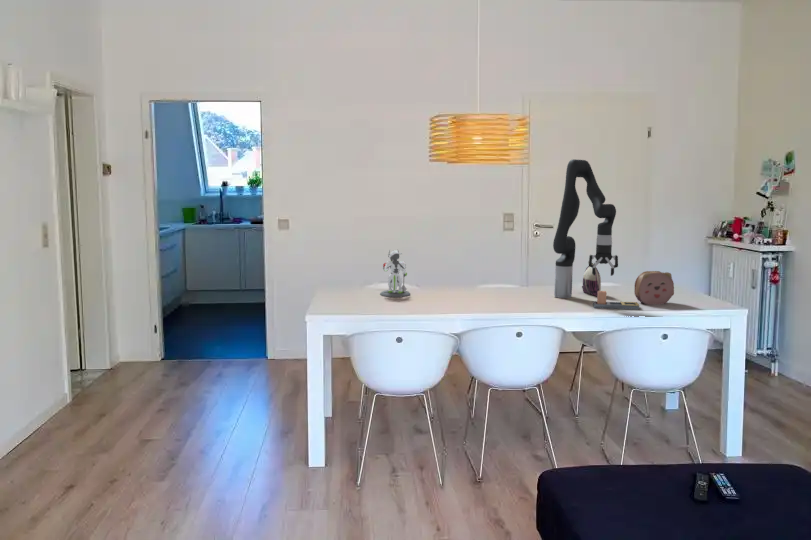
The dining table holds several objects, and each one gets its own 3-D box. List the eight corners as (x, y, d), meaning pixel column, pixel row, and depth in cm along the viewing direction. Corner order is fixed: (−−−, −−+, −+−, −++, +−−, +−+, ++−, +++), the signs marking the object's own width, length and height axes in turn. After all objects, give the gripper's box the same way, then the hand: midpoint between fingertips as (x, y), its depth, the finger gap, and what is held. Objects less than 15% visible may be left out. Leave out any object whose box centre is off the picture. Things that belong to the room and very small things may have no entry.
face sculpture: (639, 304, 379) (640, 273, 376) (632, 302, 385) (633, 271, 383) (674, 303, 382) (675, 272, 380) (666, 301, 389) (668, 270, 387)
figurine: (411, 292, 414) (411, 248, 410) (408, 297, 397) (409, 251, 393) (382, 291, 415) (382, 248, 412) (378, 296, 399) (378, 251, 395)
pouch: (573, 291, 419) (575, 258, 416) (586, 290, 421) (588, 257, 419) (596, 298, 395) (597, 264, 393) (609, 298, 397) (611, 263, 395)
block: (597, 307, 371) (598, 292, 370) (597, 306, 375) (597, 290, 374) (605, 307, 370) (606, 292, 369) (605, 306, 374) (605, 291, 373)
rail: (594, 308, 369) (594, 303, 369) (592, 305, 377) (592, 300, 377) (639, 309, 366) (639, 305, 366) (636, 306, 374) (636, 302, 373)
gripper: (617, 243, 371) (616, 274, 373) (588, 242, 373) (587, 274, 375) (619, 244, 363) (618, 276, 366) (590, 244, 366) (589, 276, 368)
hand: (602, 275), depth 370 cm, fingers open, 8 cm apart
